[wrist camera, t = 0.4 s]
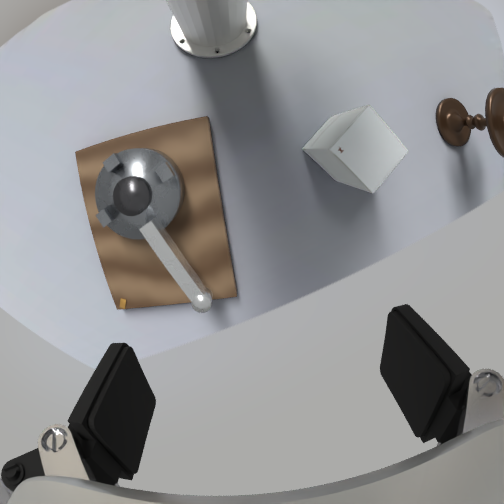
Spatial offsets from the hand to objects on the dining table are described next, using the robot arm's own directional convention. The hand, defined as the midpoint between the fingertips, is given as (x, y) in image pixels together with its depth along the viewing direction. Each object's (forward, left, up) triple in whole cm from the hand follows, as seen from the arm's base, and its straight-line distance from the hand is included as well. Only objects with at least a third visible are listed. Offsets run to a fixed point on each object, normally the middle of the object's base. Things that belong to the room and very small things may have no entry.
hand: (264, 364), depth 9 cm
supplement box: (-6, +14, -34) cm, 37 cm away
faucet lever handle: (+1, -12, -31) cm, 33 cm away
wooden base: (+1, -14, -33) cm, 36 cm away
